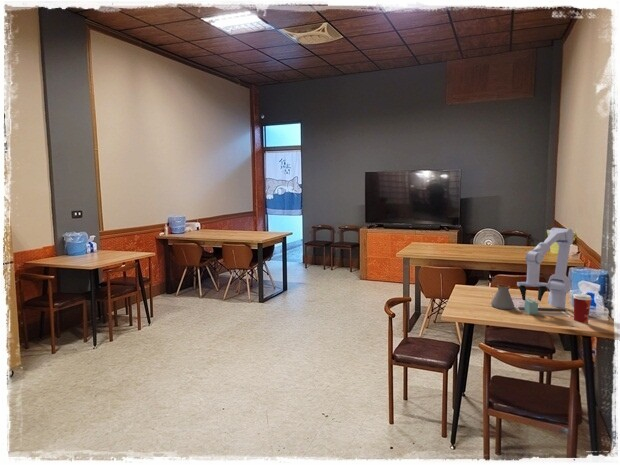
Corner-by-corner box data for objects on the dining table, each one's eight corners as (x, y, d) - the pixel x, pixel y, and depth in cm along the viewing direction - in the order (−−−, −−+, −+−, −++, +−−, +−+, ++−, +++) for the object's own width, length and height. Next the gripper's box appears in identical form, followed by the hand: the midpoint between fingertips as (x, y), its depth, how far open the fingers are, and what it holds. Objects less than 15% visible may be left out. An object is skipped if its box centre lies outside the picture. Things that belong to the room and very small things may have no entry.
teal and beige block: (524, 310, 226) (525, 297, 225) (532, 310, 225) (533, 297, 224) (529, 314, 219) (530, 301, 218) (537, 314, 218) (538, 301, 217)
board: (518, 311, 228) (518, 306, 227) (564, 313, 225) (564, 308, 224) (525, 318, 217) (526, 312, 216) (574, 320, 214) (574, 314, 213)
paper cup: (591, 326, 204) (593, 298, 202) (573, 324, 206) (575, 296, 205) (587, 321, 211) (589, 294, 209) (569, 320, 214) (571, 292, 212)
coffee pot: (517, 312, 226) (519, 284, 224) (495, 312, 227) (497, 284, 225) (501, 301, 247) (502, 276, 246) (481, 301, 248) (482, 276, 246)
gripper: (520, 275, 217) (519, 301, 218) (551, 276, 215) (549, 302, 216) (516, 272, 224) (514, 298, 225) (545, 273, 222) (544, 299, 223)
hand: (531, 300), depth 221 cm, fingers open, 7 cm apart
